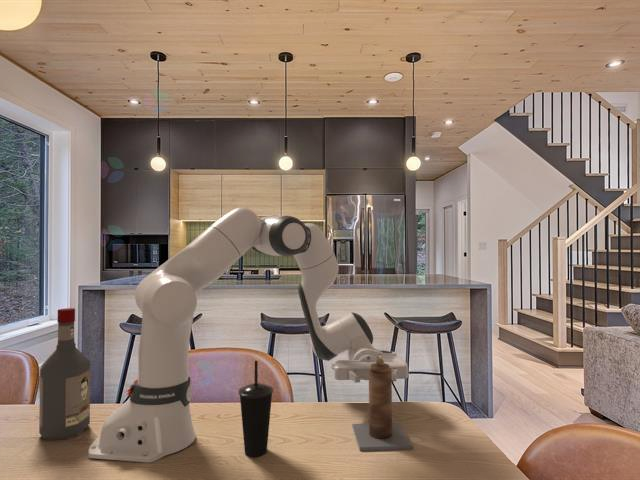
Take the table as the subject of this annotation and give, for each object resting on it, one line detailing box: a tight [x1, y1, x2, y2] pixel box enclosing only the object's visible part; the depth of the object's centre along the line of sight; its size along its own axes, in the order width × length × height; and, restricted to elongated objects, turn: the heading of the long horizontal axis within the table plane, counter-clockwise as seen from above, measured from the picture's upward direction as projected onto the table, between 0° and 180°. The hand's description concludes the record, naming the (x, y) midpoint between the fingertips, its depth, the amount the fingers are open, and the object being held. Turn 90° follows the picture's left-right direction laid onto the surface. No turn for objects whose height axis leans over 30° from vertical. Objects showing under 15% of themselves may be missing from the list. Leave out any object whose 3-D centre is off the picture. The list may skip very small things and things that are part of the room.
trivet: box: [351, 422, 414, 452], centre depth 96 cm, size 12×12×1 cm
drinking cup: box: [238, 360, 274, 458], centre depth 90 cm, size 8×8×20 cm
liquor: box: [38, 307, 91, 440], centre depth 100 cm, size 9×9×30 cm
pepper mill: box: [368, 358, 393, 439], centre depth 97 cm, size 5×5×18 cm
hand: (375, 379), depth 104 cm, fingers open, 8 cm apart
